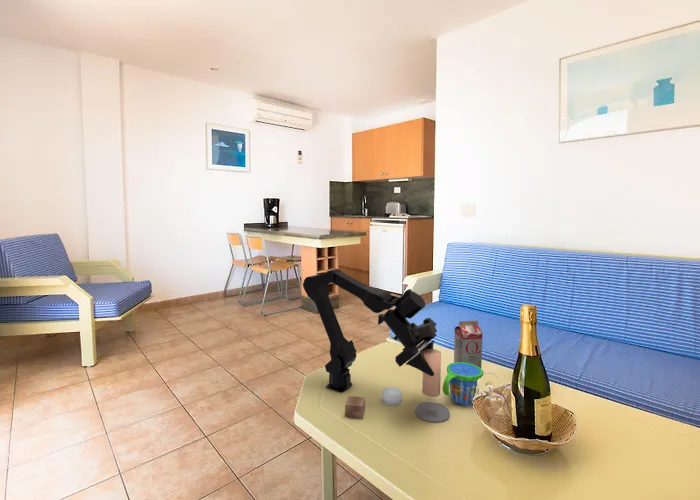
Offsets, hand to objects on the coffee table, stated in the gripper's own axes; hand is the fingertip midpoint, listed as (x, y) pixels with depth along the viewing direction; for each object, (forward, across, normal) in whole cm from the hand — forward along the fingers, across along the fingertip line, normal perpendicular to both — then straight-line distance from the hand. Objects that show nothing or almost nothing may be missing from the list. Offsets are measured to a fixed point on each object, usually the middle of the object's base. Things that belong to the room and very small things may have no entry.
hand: (436, 371), depth 102 cm
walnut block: (-5, -11, +24) cm, 27 cm away
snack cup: (+13, +13, +6) cm, 19 cm away
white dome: (0, +1, +20) cm, 20 cm away
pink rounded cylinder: (+4, 0, +6) cm, 7 cm away
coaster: (+8, +1, +10) cm, 13 cm away
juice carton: (+12, +24, +8) cm, 28 cm away
